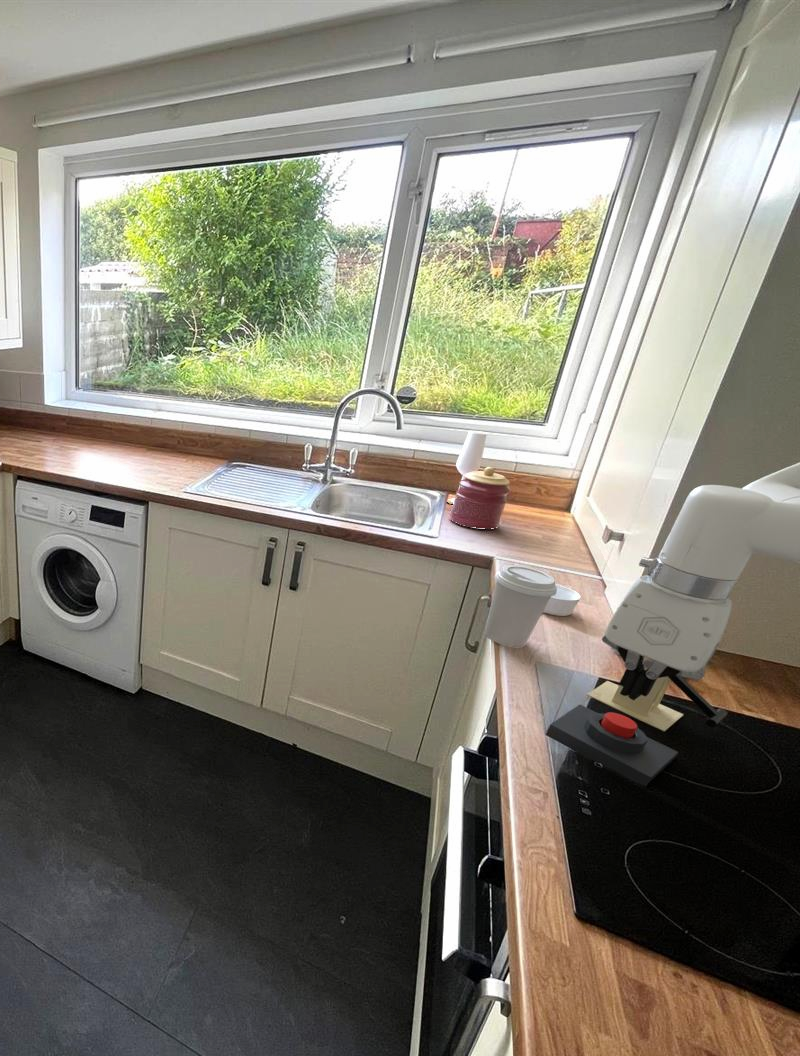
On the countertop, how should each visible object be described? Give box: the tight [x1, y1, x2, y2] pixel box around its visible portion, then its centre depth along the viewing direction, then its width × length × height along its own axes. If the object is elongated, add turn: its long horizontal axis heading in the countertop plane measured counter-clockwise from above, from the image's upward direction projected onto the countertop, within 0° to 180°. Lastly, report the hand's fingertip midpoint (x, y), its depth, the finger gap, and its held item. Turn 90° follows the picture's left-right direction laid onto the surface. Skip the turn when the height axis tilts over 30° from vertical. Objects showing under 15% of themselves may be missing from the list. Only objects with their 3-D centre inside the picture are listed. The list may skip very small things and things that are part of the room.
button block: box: [545, 704, 679, 786], centre depth 86 cm, size 12×10×4 cm
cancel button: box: [601, 711, 638, 738], centre depth 85 cm, size 4×4×2 cm
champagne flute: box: [449, 430, 488, 503], centre depth 189 cm, size 7×7×24 cm
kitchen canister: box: [449, 466, 511, 529], centre depth 173 cm, size 13×13×18 cm
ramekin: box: [542, 583, 582, 617], centre depth 127 cm, size 9×9×4 cm
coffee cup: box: [483, 564, 557, 649], centre depth 110 cm, size 10×10×15 cm
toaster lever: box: [668, 675, 729, 728], centre depth 89 cm, size 12×5×2 cm
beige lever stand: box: [586, 657, 685, 733], centre depth 93 cm, size 10×8×12 cm
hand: (630, 694), depth 83 cm, fingers closed
